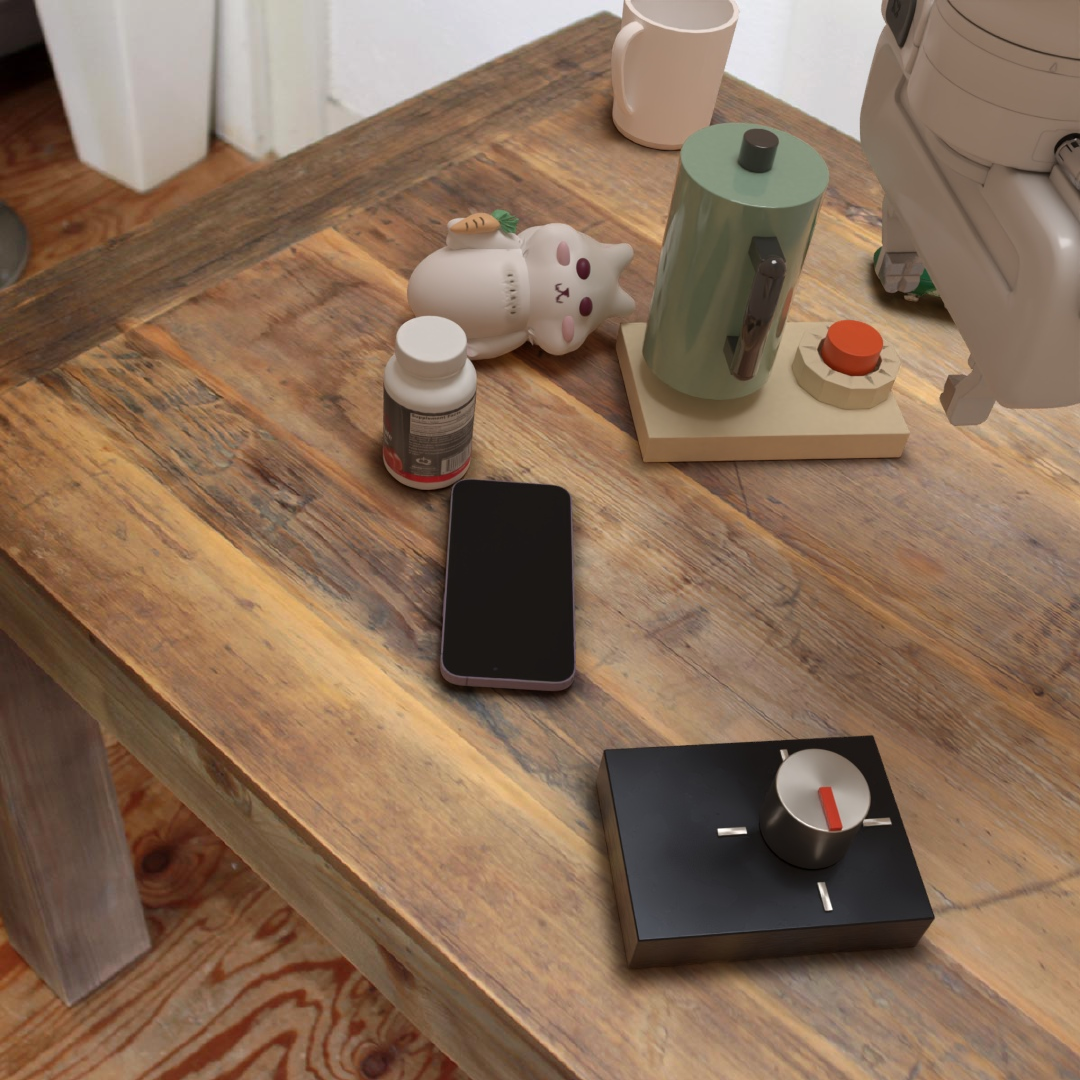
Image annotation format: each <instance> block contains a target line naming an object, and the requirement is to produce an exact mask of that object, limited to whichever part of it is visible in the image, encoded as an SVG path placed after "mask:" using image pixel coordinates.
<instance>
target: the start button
mask: <svg viewBox="0 0 1080 1080" xmlns="http://www.w3.org/2000/svg"><path fill="white" fill-rule="evenodd" d="M834 322H835V323H834V324H832V325H831V326H830V327H829V329H828V332H827V335H826V338H825V341H824V344H823V347H822V350H821V356H822V359H823V361H824V362H825V364H826V365H827V366H828V367H830V368H831V369H832V370H834V371H837V372H840V373H842V374H845V375H848V376H864V375H867V374H869V373H871V372H872V371H873V370H874V368H875V367H876V364H877V361H878V358H879V356H880V353H881V350H882V348H883V339H882V337H883V336H882V335H881V333H880V332H879V331H878V330H877V329H876V328H875V327H873V326H871V325H870V324H868V323H865V322H863V321H861V320H855V319H842V320H838V321H834Z"/></svg>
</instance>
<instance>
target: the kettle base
mask: <svg viewBox="0 0 1080 1080" xmlns="http://www.w3.org/2000/svg"><path fill="white" fill-rule="evenodd" d="M835 322H836V321H787V323H786V327H785V330H784V333H783V337H782V340H781V343H780V347H779V350H778V353H777V357H776V360H775V363H774V367H773V370H772V373H771V376H770V378H769V379H768V381H767V382H766V383H765V384H764V385H763V386H762V387H761V388H760V389H758V390H757V391H755V392H753V393H752V394H749V395H747V396H744V397H740V398H736V399H729V400H711V399H703V398H699V397H694V396H691V395H688V394H685V393H682V392H680V391H678V390H676V389H674V388H672V387H670V386H668V385H667V384H665V383H664V382H662V381H661V380H660V379H659V378H658V377H657V376H656V375H655V374H654V373H653V372H652V371H651V370H650V369H649V367H648V365H647V364H646V362H645V359H644V357H643V353H642V341H643V336H644V331H645V326H646V322H620V323H619V327H618V332H617V337H616V343H615V351H616V355H617V359H618V363H619V367H620V371H621V376H622V380H623V383H624V387H625V391H626V395H627V399H628V404H629V408H630V412H631V417H632V420H633V421H632V422H633V424H634V429H635V433H636V437H637V441H638V444H639V449H640V453H641V457H642V461H643V463H678V462H680V463H681V462H725V461H726V462H729V461H731V462H732V461H776V460H777V461H778V460H779V461H780V460H783V461H784V460H824V459H825V460H828V459H829V460H831V459H878V458H881V459H882V458H883V459H884V458H885V459H886V458H901V456H902V454H903V452H904V449H905V447H906V445H907V443H908V440H909V438H910V435H911V431H910V429H909V426H908V425H907V422H906V419H905V417H904V415H903V412H902V410H901V407H900V406H899V404H898V401H897V399H896V396H895V395H894V392H893V390H892V388H893V387H894V385H895V381H896V379H897V376H898V373H899V370H900V367H901V365H902V362H901V360H900V357H899V355H898V353H897V351H896V348H895V346H894V345H893V344H892V343H890V342H889V341H888V340H886V338H884V337H883V336H881V337H882V339H883V348H882V350H881V353H880V356H879V358H878V361H877V364H876V367H875V368H874V370H873V371H872V372H871V373H869V374H867V375H864V376H848V375H845V374H842V373H840V372H837V371H834V370H832V369H831V368H830V367H828V366H827V365H826V364H825V362H824V361H823V359H822V356H821V350H822V347H823V344H824V341H825V338H826V335H827V332H828V329H829V327H830V326H831V325H832V324H834V323H835Z"/></svg>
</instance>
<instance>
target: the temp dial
mask: <svg viewBox="0 0 1080 1080" xmlns="http://www.w3.org/2000/svg"><path fill="white" fill-rule="evenodd" d="M870 801H871V798H870V791H869V787H868V784H867V782H866V780H865V778H864V776H863V775H862V773H861V772H860V771H859V770H858V768H857V767H856V766H855V765H853V764H852V763H851V762H850V761H849V760H847V759H846V758H844V757H842V756H840V755H838V754H836V753H834V752H831V751H827V750H822V749H806V750H801V751H798V752H796V753H794V754H792V755H790V756H789V757H787V758H786V759H785V760H784V761H783V762H782V764H781V765H780V767H779V769H778V771H777V773H776V776H775V778H774V780H773V783H772V785H771V787H770V790H769V792H768V794H767V796H766V799H765V801H764V803H763V806H762V808H761V811H760V817H759V823H760V829H761V832H762V835H763V837H764V840H765V841H766V843H767V845H768V846H769V847H770V848H771V850H772V851H773V852H774V853H775V854H776V855H778V856H779V857H780V858H781V859H783V860H785V861H786V862H788V863H790V864H792V865H795V866H798V867H801V868H807V869H819V868H825V867H828V866H831V865H833V864H835V863H836V862H838V861H839V860H840V859H841V858H842V857H843V856H844V855H845V853H846V852H847V850H848V848H849V846H850V845H851V843H852V841H853V839H854V837H855V835H856V834H857V832H858V830H859V828H860V826H861V824H862V823H863V821H864V819H865V817H866V815H867V813H868V811H869V808H870Z"/></svg>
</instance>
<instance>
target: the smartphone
mask: <svg viewBox="0 0 1080 1080" xmlns="http://www.w3.org/2000/svg"><path fill="white" fill-rule="evenodd" d="M449 505H450V506H449V518H448V519H449V520H448V534H447V536H448V537H447V550H446V551H447V552H446V566H445V567H446V568H445V581H444V582H445V583H444V593H443V601H442V605H443V606H442V628H441V629H442V631H441V643H440V644H441V646H440V659H439V669H440V673H441V676H442V677H443V679H444V680H446V681H447V682H448V683H450V684H453V685H456V686H462V687H463V686H464V687H465V686H466V687H480V688H495V689H515V690H530V691H546V692H559V691H563V690H566V689H568V688H569V687H570V686H571V685H572V684H573V683H574V680H575V676H576V670H577V641H576V601H575V569H574V568H575V566H574V529H573V528H574V525H573V498H572V494H571V493H570V491H568V489H566V488H565V487H563V486H560V485H559V484H558V485H557V484H551V483H535V482H523V481H522V482H521V481H507V480H495V479H492V480H491V479H481V478H479V479H478V478H463V479H459V480H458V481H457V482H455V483H453V485H452V488H451V491H450V504H449Z"/></svg>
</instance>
